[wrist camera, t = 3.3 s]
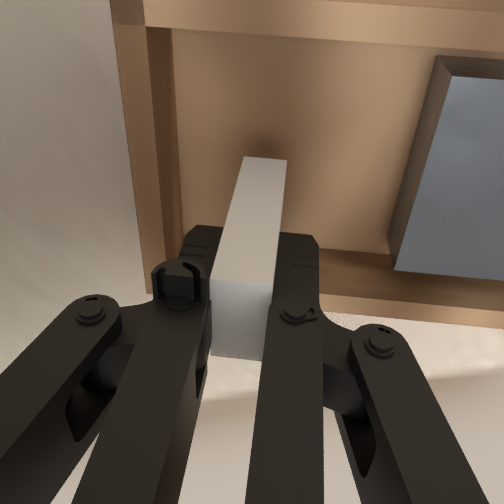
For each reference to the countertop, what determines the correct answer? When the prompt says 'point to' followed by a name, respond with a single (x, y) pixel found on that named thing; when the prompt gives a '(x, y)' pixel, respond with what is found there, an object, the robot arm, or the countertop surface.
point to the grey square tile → (454, 175)
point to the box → (297, 129)
